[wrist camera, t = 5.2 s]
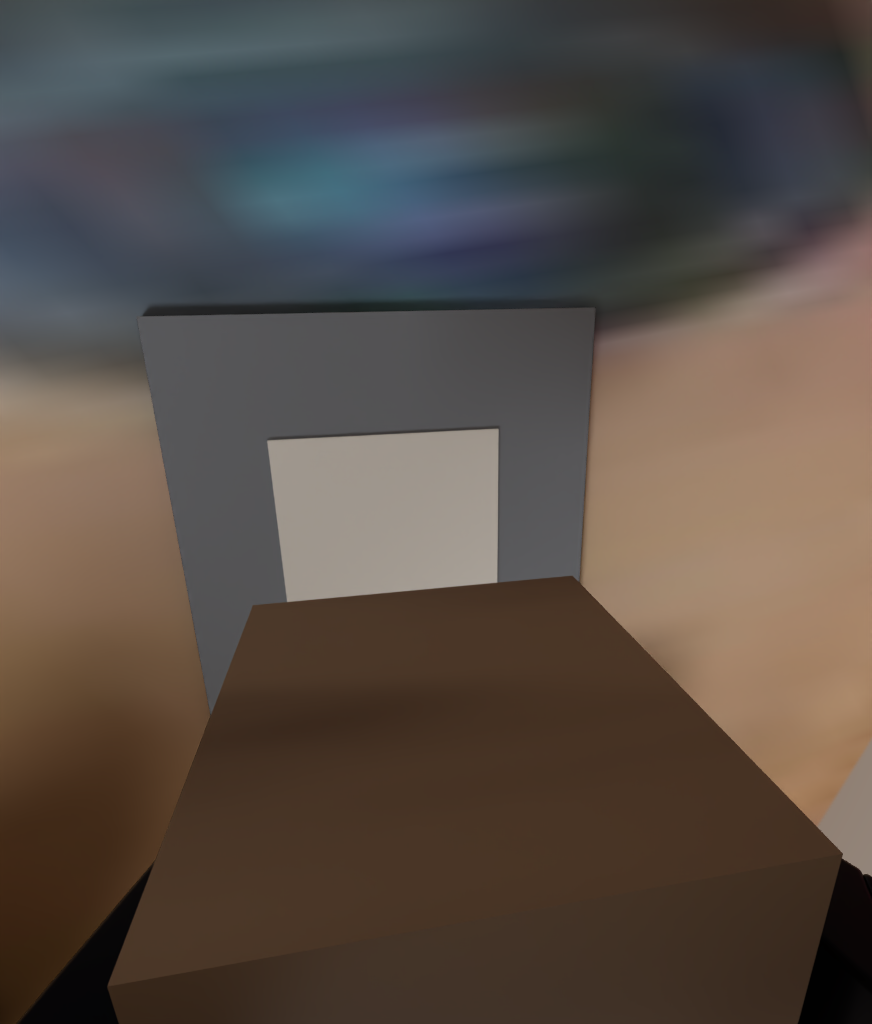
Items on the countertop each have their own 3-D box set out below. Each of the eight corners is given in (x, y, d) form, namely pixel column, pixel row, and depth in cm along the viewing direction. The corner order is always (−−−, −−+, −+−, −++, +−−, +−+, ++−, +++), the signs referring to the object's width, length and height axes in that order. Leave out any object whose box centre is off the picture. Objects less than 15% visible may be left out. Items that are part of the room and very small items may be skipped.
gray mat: (569, 695, 20) (573, 702, 20) (218, 738, 19) (215, 746, 18) (591, 307, 16) (596, 307, 16) (140, 317, 15) (134, 316, 14)
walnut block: (559, 817, 10) (743, 1230, 5) (290, 859, 9) (228, 1375, 5) (571, 575, 9) (841, 853, 4) (252, 605, 8) (108, 985, 3)
